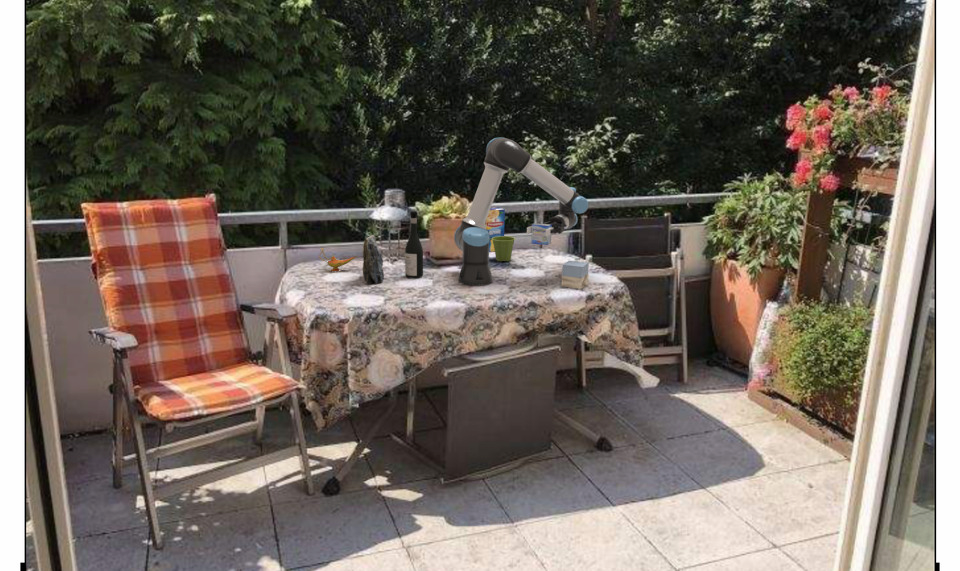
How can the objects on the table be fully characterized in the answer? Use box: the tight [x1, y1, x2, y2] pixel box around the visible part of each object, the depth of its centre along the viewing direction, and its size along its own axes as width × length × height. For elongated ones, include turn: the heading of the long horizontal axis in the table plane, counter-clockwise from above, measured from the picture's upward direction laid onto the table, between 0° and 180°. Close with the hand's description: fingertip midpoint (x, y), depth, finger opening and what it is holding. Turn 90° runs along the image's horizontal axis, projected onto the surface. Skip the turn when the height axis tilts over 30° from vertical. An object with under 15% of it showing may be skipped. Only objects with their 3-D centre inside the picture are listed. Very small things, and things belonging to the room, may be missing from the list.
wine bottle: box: [404, 210, 424, 279], centre depth 349 cm, size 8×8×30 cm
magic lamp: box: [318, 247, 359, 272], centre depth 360 cm, size 7×18×11 cm, turn 96°
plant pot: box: [492, 235, 516, 262], centre depth 385 cm, size 12×12×11 cm
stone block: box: [362, 234, 385, 285], centre depth 344 cm, size 18×9×20 cm, turn 3°
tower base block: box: [561, 273, 590, 290], centre depth 341 cm, size 9×9×5 cm
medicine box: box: [530, 222, 552, 246], centre depth 340 cm, size 8×4×9 cm, turn 68°
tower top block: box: [561, 260, 590, 278], centre depth 340 cm, size 9×9×5 cm
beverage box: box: [485, 206, 506, 253], centre depth 407 cm, size 7×11×22 cm, turn 116°
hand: (537, 231), depth 336 cm, fingers closed on medicine box, 8 cm apart
